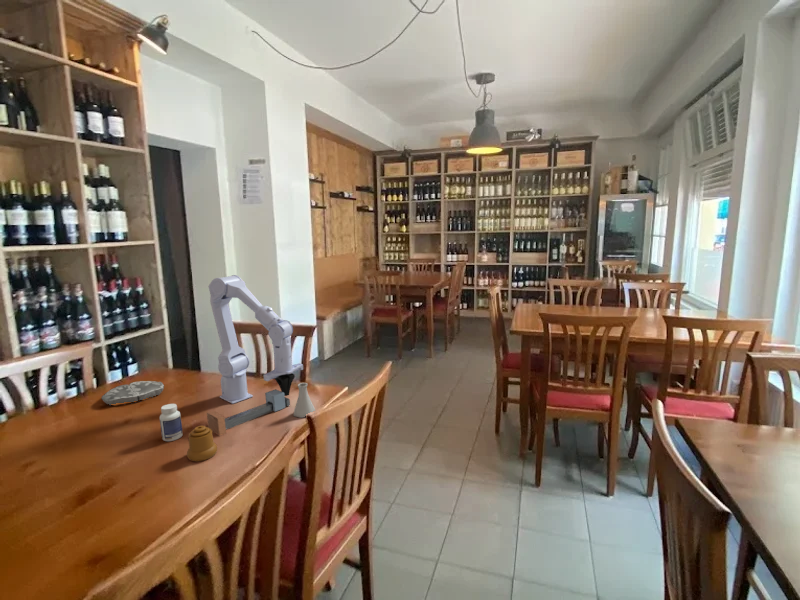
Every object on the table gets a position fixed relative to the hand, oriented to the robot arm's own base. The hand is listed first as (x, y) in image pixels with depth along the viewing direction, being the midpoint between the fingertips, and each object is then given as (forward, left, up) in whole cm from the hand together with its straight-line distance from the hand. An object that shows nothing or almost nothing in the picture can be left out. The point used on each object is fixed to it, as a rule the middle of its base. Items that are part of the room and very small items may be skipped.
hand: (285, 394), depth 145 cm
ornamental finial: (+10, -34, -4) cm, 35 cm away
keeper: (0, -4, -3) cm, 5 cm away
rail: (0, -13, -3) cm, 13 cm away
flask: (+11, -1, -4) cm, 12 cm away
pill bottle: (-7, -35, -4) cm, 36 cm away
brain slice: (-52, -31, -4) cm, 61 cm away
